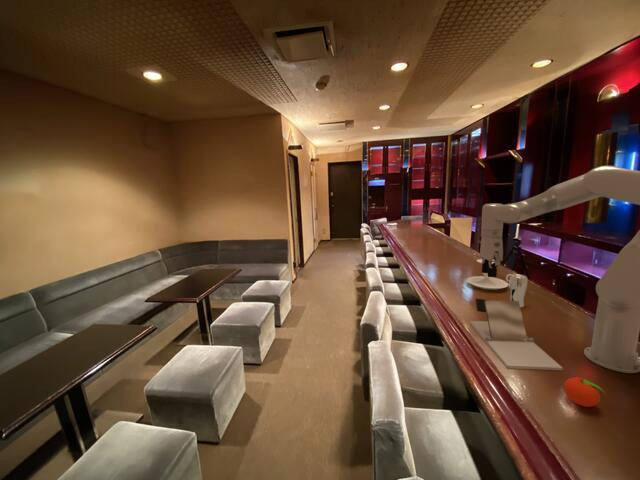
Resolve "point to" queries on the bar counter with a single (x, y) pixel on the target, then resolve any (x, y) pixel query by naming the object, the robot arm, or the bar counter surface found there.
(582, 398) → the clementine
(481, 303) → the smartphone
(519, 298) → the beer glass
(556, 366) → the plaque base
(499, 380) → the bar counter surface
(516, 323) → the flip plaque
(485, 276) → the candlestick
